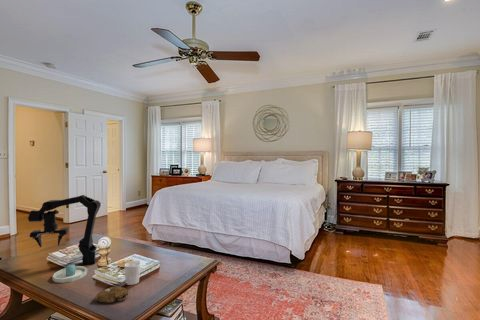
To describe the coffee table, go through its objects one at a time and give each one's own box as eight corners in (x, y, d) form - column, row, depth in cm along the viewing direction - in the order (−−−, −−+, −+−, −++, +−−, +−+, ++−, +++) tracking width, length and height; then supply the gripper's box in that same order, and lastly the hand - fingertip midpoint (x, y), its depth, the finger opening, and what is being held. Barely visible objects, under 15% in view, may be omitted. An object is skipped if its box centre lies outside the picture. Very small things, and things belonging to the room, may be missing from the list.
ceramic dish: (89, 267, 158) (89, 264, 158) (83, 279, 143) (83, 276, 143) (57, 271, 152) (57, 268, 152) (49, 284, 137) (49, 281, 137)
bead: (75, 272, 151) (75, 263, 150) (74, 275, 146) (74, 267, 146) (67, 273, 149) (66, 265, 149) (65, 277, 145) (64, 268, 145)
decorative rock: (134, 292, 131) (104, 293, 132) (133, 284, 132) (104, 285, 132) (123, 304, 120) (91, 305, 120) (123, 295, 120) (91, 296, 120)
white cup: (143, 280, 144) (143, 262, 143) (133, 286, 136) (133, 268, 136) (131, 277, 146) (131, 260, 146) (121, 284, 139) (121, 265, 138)
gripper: (70, 216, 171) (70, 240, 171) (36, 219, 164) (36, 243, 165) (66, 221, 161) (66, 246, 161) (29, 223, 154) (29, 249, 154)
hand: (49, 246), depth 161 cm, fingers open, 9 cm apart
